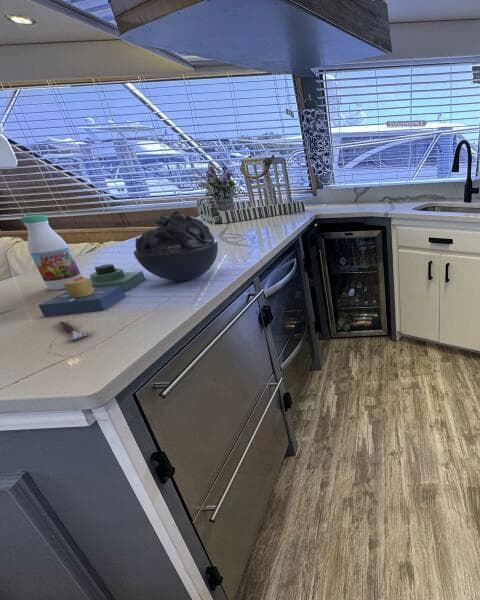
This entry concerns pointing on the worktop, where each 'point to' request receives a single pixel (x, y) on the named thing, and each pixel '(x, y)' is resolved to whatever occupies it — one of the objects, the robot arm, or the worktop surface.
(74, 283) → the dial
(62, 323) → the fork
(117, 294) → the dial panel
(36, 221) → the milk bottle
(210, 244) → the coal bowl
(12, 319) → the worktop surface
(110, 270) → the black round button
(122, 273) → the green stepped base
